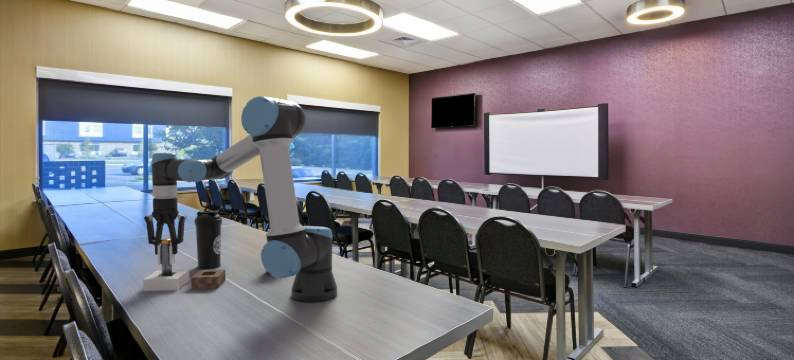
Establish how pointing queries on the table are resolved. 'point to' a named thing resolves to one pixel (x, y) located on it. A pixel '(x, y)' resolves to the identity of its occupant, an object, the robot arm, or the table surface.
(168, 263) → the pin
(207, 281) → the mount block
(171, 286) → the dock block
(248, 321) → the table surface
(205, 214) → the water bottle
